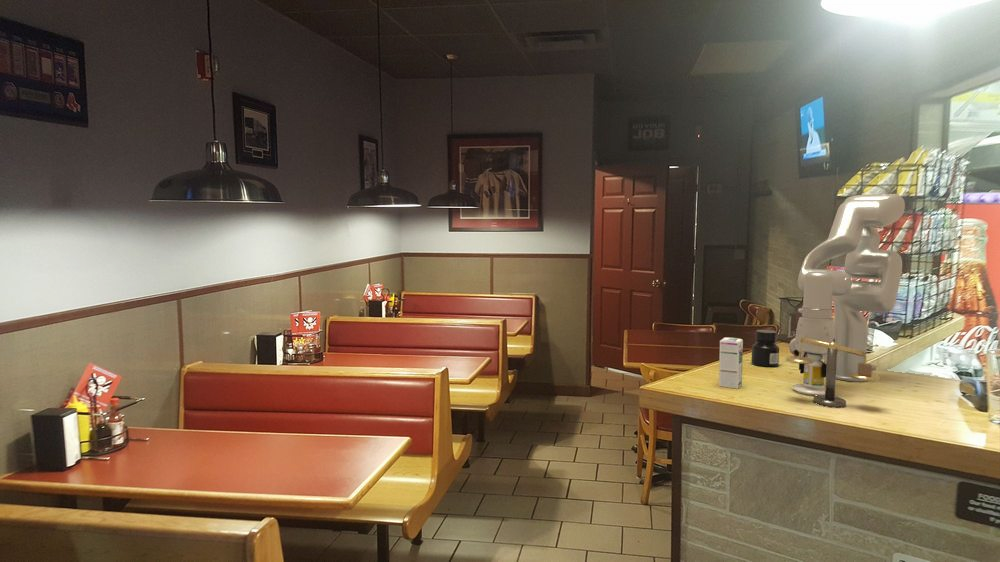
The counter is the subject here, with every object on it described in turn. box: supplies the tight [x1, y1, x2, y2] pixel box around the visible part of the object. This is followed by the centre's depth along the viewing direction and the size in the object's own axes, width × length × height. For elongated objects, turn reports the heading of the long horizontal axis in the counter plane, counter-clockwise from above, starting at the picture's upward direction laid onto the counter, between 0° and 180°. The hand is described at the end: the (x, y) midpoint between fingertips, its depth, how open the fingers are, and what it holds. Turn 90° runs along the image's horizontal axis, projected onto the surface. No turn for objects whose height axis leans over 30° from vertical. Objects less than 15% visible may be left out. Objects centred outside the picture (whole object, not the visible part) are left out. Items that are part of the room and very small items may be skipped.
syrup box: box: [718, 337, 744, 390], centre depth 188 cm, size 6×6×14 cm
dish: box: [791, 383, 826, 396], centre depth 182 cm, size 11×11×1 cm
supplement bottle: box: [802, 353, 825, 388], centre depth 181 cm, size 5×5×10 cm
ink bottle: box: [751, 329, 780, 368], centre depth 217 cm, size 10×9×12 cm
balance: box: [785, 337, 881, 409], centre depth 169 cm, size 8×23×18 cm, turn 62°
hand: (813, 374), depth 181 cm, fingers closed on supplement bottle, 5 cm apart
